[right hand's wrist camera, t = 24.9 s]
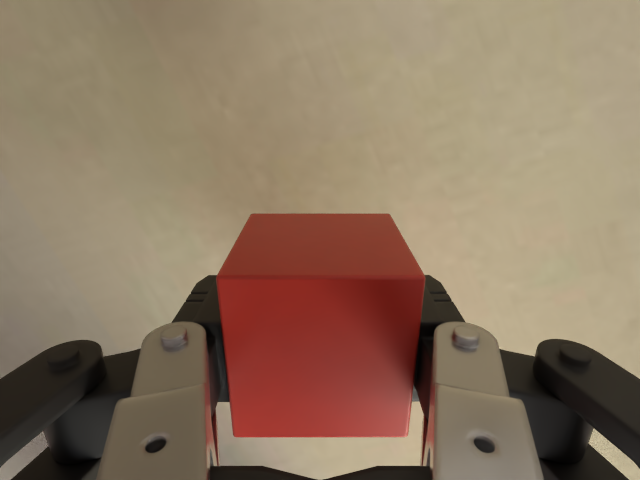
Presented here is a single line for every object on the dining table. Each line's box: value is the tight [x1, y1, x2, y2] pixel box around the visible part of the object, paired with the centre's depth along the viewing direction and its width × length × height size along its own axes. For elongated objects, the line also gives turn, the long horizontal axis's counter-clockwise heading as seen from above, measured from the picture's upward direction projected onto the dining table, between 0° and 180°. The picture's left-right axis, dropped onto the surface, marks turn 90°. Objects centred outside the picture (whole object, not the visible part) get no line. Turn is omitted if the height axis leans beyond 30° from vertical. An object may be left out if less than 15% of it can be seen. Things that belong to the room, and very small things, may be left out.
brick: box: [216, 214, 425, 437], centre depth 11 cm, size 4×4×4 cm
